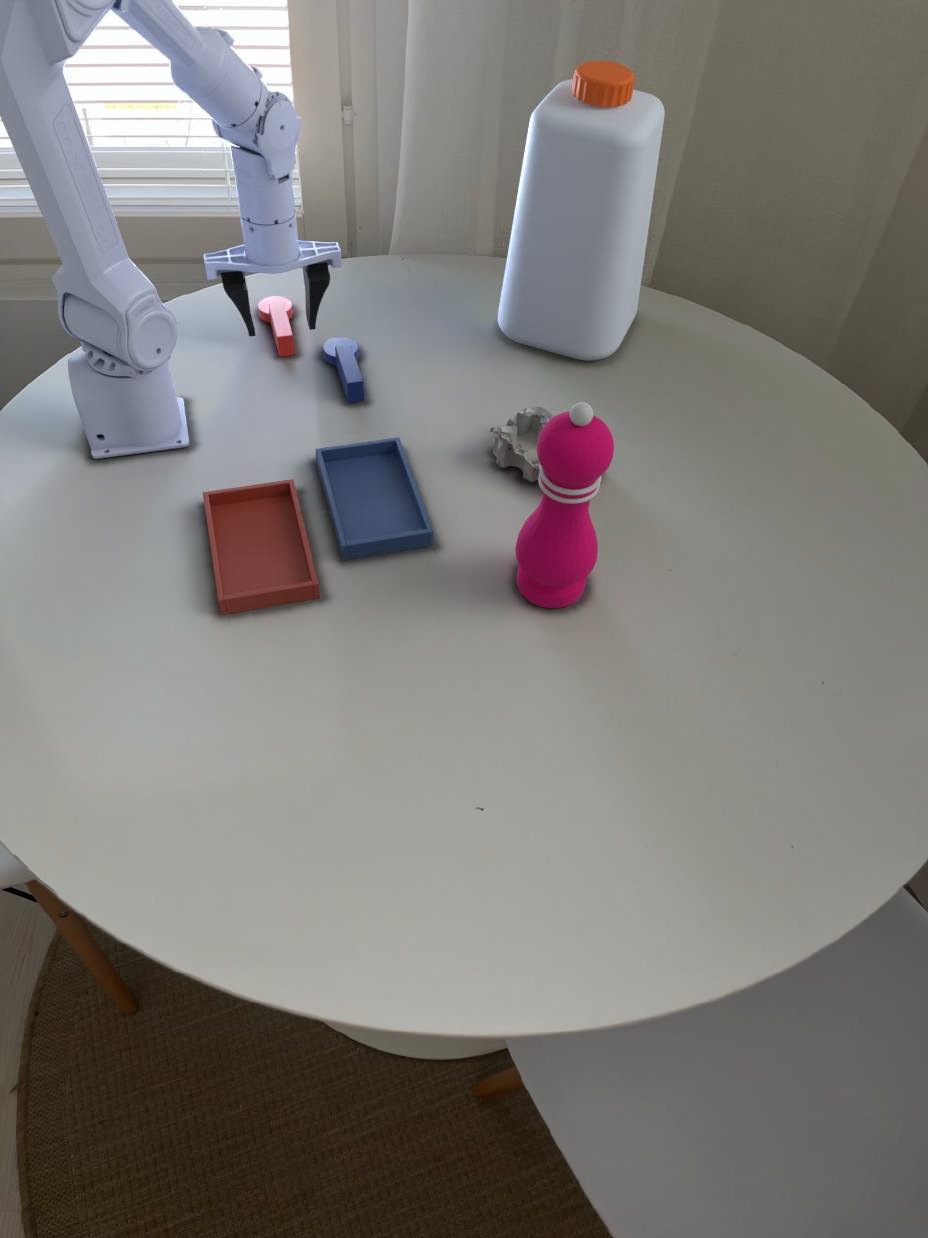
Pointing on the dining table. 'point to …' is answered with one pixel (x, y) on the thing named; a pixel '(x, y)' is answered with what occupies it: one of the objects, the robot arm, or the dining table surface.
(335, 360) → the blue spoon
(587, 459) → the pepper mill
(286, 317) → the red spoon
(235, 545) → the red tray
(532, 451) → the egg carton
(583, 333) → the plastic bottle
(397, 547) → the blue tray
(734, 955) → the dining table surface
